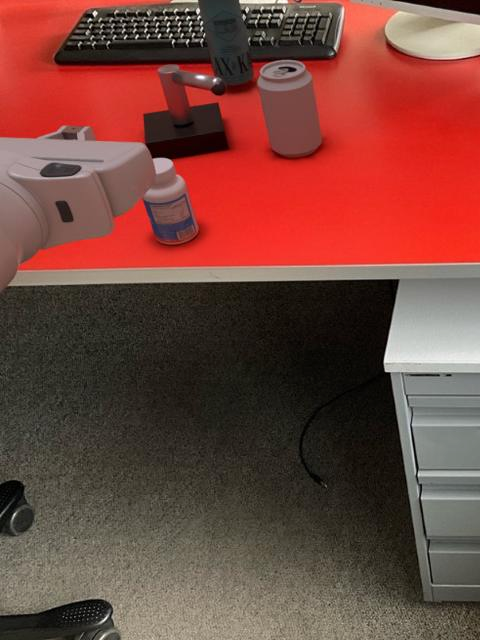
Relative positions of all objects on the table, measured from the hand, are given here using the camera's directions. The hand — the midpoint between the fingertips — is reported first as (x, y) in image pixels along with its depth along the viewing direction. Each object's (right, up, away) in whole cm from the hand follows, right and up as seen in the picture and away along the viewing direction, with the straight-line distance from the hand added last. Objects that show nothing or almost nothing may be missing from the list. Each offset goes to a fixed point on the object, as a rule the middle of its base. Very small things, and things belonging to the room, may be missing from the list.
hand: (80, 132), depth 91 cm
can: (+13, +8, +39) cm, 42 cm away
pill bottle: (+2, -7, +22) cm, 24 cm away
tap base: (-4, +10, +42) cm, 43 cm away
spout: (0, +11, +38) cm, 40 cm away
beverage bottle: (0, +23, +56) cm, 60 cm away
